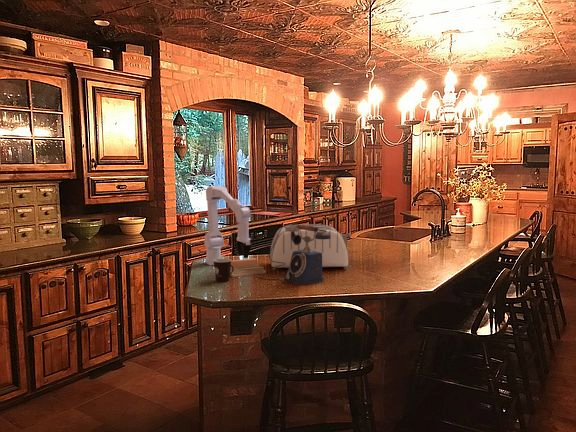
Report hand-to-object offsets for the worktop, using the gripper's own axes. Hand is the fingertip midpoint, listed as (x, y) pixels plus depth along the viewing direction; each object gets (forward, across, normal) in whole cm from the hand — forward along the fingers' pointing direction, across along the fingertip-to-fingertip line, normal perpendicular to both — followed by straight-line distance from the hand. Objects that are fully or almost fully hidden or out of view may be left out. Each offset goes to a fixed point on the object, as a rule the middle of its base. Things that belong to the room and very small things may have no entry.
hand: (243, 256), depth 249 cm
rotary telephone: (+8, -24, -17) cm, 31 cm away
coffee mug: (+8, -15, +16) cm, 23 cm away
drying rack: (+8, 0, 0) cm, 8 cm away
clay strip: (+7, 0, 0) cm, 7 cm away
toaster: (+8, -4, -38) cm, 39 cm away
